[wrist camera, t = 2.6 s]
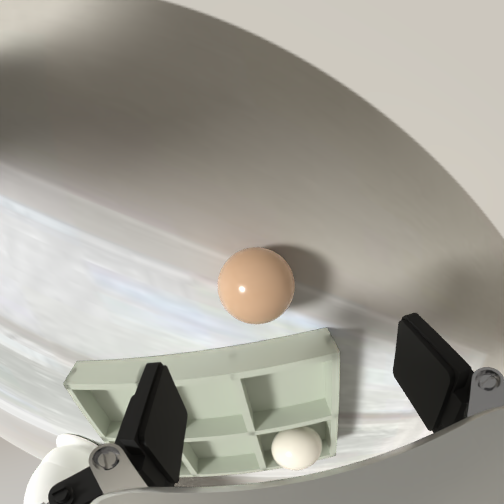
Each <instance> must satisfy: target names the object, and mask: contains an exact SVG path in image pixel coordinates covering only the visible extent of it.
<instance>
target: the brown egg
mask: <svg viewBox="0 0 504 504" xmlns="http://www.w3.org/2000/svg"><path fill="white" fill-rule="evenodd" d="M294 291H295V280H294V276H293V273H292V270H291V268H290V266H289V265H288V263H287V262H286V261H285V260H284V259H283V258H282V257H281V256H280V255H279V254H277V253H275V252H274V251H272V250H269V249H266V248H260V247H253V248H247V249H243V250H241V251H239V252H237V253H235V254H234V255H232V256H231V257H230V258H229V259H228V260H227V261H226V263H225V264H224V266H223V267H222V269H221V271H220V274H219V278H218V294H219V298H220V300H221V302H222V305H223V306H224V308H225V309H226V310H227V311H228V312H229V314H231V315H232V316H233V317H234V318H236V319H238V320H240V321H242V322H245V323H249V324H264V323H268V322H270V321H273V320H275V319H277V318H278V317H280V316H281V315H282V314H283V313H284V312H285V311H286V310H287V308H288V307H289V305H290V303H291V301H292V299H293V296H294Z"/></svg>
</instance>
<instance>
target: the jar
mask: <svg viewBox="0 0 504 504" xmlns="http://www.w3.org/2000/svg"><path fill="white" fill-rule="evenodd" d="M96 447H98V445H96V444H94V443H93V442H91V441H89V440H86V439H84V438H82V437H79V436H76V435H71V434H62V435H59V436H58V437H57V447H56V448H54V449H53V450H51V451H50V452H49V453H48V454H47V455H46V456H45V458H44V459H43V460H42V462H41V464H40V465H39V466H38V468H37V469H36V470H35V472H34V473H33V475H32V477H31V479H30V481H29V483H28V486H27V489H26V493H25V498H24V504H42V503H43V502H45V503H46V504H47V503H48V502H49V500H48V494H49V491H50V489H51V488H52V487H53V486H54V485H55V484H57V483H59V482H61V481H63V480H65V479H67V478H68V477H70V476H72V475H74V474H76V473H78V472H80V471H82V470H83V469H85V468H87V467H89V466H90V465H89V456H90V454H91V452H92V451H93V450H94V449H95V448H96Z"/></svg>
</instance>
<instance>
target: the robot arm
mask: <svg viewBox="0 0 504 504" xmlns="http://www.w3.org/2000/svg"><path fill="white" fill-rule="evenodd" d="M393 374H394V377H395V379H396V380H397V382H398V383H399V385H400V386H401V388H402V389H403V391H404V392H405V394H406V396H407V397H408V399H409V400H410V402H411V403H412V405H413V407H414V408H415V410H416V411H417V413H418V414H419V416H420V418H421V419H422V421H423V422H424V424H425V426H426V427H427V429H428V430H429V431H431V430H432V431H433V434H431V435H429V436H426V437H424V438H422V439H420V440H417V441H415V442H412V443H410V444H408V445H405V446H403V447H400V448H397V449H395V450H392V451H389V452H387V453H384V454H381V455H378V456H375V457H372V458H369V459H366V460H363V461H359V462H356V463H353V464H349V465H346V466H342V467H338V468H334V469H330V470H326V471H322V472H318V473H313V474H309V475H304V476H298V477H293V478H287V479H281V480H275V481H268V482H260V483H251V484H241V485H228V486H208V487H174V484H175V483H178V481H179V476H180V468H181V460H182V453H183V446H184V439H185V432H186V425H187V418H188V414H187V410H186V408H185V405H184V403H183V401H182V399H181V397H180V395H179V392H178V390H177V388H176V386H175V383H174V381H173V379H172V376H171V374H170V372H169V369H168V367H167V366H166V365H163V364H162V363H161V362H153V363H147V364H146V366H145V368H144V371H143V373H142V376H141V379H140V381H139V384H138V387H137V389H136V392H135V395H133V396H132V397H131V399H130V401H129V404H128V407H127V409H126V412H125V415H124V418H123V420H122V423H121V426H120V429H119V432H118V434H117V437H116V440H115V443H114V444H112V443H106V444H102V445H99V446H98V447H96V448H95V449H94V450H93V451H92V452H91V454H90V456H89V465H90V466H89V467H87V468H85V469H83V470H82V471H80V472H78V473H76V474H74V475H72V476H70V477H68V478H67V479H65V480H63V481H61V482H59V483H57V484H55V485H54V486H53V487H52V488H51V489H50V491H49V494H48V500H49V502H48V503H47V504H504V377H503V375H502V374H501V373H500V372H499V371H498V370H496V369H494V368H490V367H483V368H480V369H478V370H476V371H475V372H473V370H472V369H471V367H470V366H469V365H468V364H467V363H466V361H465V360H464V359H463V358H462V357H461V356H460V355H459V354H458V353H457V352H456V351H455V350H454V349H453V348H452V347H451V346H450V345H449V344H448V343H447V342H446V341H445V340H444V339H443V338H442V337H441V336H440V335H439V334H438V333H437V332H436V331H435V330H434V329H433V328H432V327H431V326H430V325H429V324H428V323H427V322H425V321H424V320H423V319H422V318H421V317H420V316H419V315H418V314H417V313H412V314H409V315H405V316H403V317H402V320H401V321H399V324H398V334H397V343H396V352H395V359H394V366H393ZM42 504H46V503H45V502H43V503H42Z"/></svg>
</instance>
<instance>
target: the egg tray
mask: <svg viewBox="0 0 504 504" xmlns="http://www.w3.org/2000/svg"><path fill="white" fill-rule="evenodd" d="M153 362H161V363H162V364H163V365H166V366H167V367H168V369H169V372H170V374H171V376H172V379H173V381H174V383H175V386H176V388H177V390H178V392H179V395H180V397H181V399H182V401H183V403H184V405H185V408H186V410H187V414H188V418H187V425H186V432H185V439H184V446H183V453H182V460H181V468H180V476H179V477H206V476H222V475H234V474H244V473H252V472H259V471H266V470H273V469H279V468H283V467H282V466H280V465H279V464H278V463H277V462H276V461H275V459H274V458H273V455H272V451H271V446H272V442H273V439H274V438H275V436H276V435H277V434H278V433H279V432H280V431H283V430H288V429H293V428H298V427H302V426H308V427H310V428H312V429H313V430H315V431H316V432H317V433H318V435H319V436H320V438H321V441H322V452H321V455H320V457H319V458H318V460H321V459H325V458H329V457H333V456H336V445H337V431H338V413H339V387H340V351H339V349H338V347H337V345H336V343H335V341H334V340H333V338H332V336H331V334H330V332H329V331H328V329H327V327H326V328H322V329H317V330H313V331H309V332H304V333H299V334H295V335H290V336H285V337H280V338H275V339H270V340H265V341H259V342H254V343H248V344H242V345H236V346H230V347H224V348H217V349H210V350H203V351H196V352H188V353H180V354H171V355H162V356H152V357H141V358H129V359H116V360H98V361H77V362H76V363H75V365H74V366H73V368H72V370H71V371H70V373H69V375H68V376H67V378H66V380H65V381H64V383H63V385H64V386H65V388H66V389H67V391H68V392H69V394H70V396H71V397H72V399H73V400H74V402H75V403H76V405H77V406H78V407H79V409H80V410H81V412H82V413H83V415H84V416H85V417H86V419H87V420H88V421H89V423H90V424H91V425H92V427H93V428H94V429H95V431H96V432H97V433H98V435H99V436H100V437H101V438H102V440H103V441H104V442H105V443H112V444H114V443H115V440H116V437H117V434H118V432H119V429H120V426H121V423H122V420H123V418H124V415H125V412H126V409H127V407H128V404H129V401H130V399H131V397H132V396H133V395H135V392H136V389H137V387H138V384H139V381H140V379H141V376H142V373H143V371H144V368H145V366H146V364H147V363H153Z"/></svg>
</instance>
